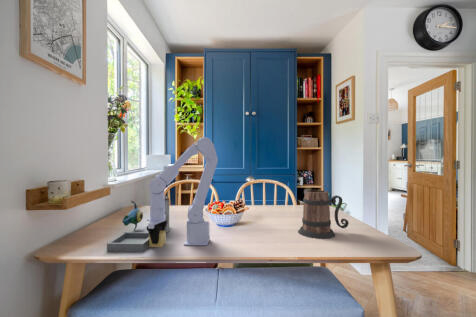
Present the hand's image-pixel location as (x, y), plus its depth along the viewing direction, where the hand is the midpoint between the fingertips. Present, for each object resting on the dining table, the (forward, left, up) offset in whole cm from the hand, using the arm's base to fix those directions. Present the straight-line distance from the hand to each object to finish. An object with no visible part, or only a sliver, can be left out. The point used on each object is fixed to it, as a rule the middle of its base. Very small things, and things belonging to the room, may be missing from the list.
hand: (157, 241), depth 98 cm
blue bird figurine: (+18, -17, -2) cm, 25 cm away
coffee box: (+5, -20, -2) cm, 21 cm away
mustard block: (0, 0, -1) cm, 1 cm away
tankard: (-73, -17, -2) cm, 75 cm away
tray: (+10, 0, -1) cm, 10 cm away
